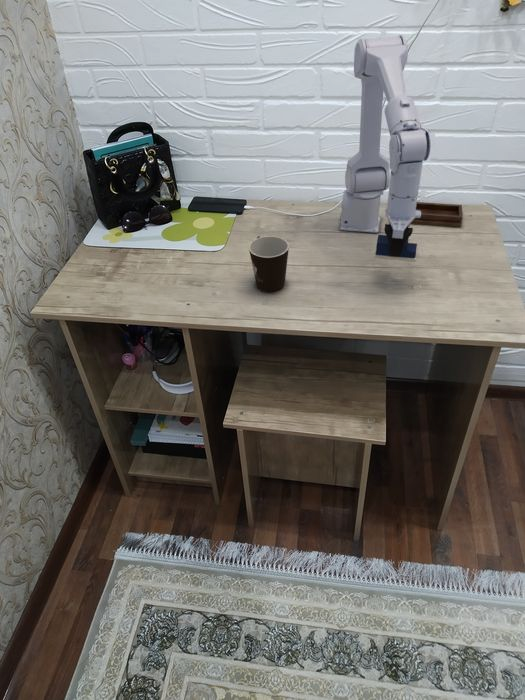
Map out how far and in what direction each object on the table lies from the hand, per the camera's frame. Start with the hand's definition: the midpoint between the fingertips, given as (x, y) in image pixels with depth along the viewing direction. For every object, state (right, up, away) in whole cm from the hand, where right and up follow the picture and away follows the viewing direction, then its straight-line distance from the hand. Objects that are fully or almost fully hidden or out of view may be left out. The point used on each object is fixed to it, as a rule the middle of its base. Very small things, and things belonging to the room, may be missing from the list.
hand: (395, 250), depth 122 cm
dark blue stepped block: (0, -1, +1) cm, 1 cm away
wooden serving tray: (+14, +13, +25) cm, 32 cm away
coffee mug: (-27, -6, +8) cm, 28 cm away
